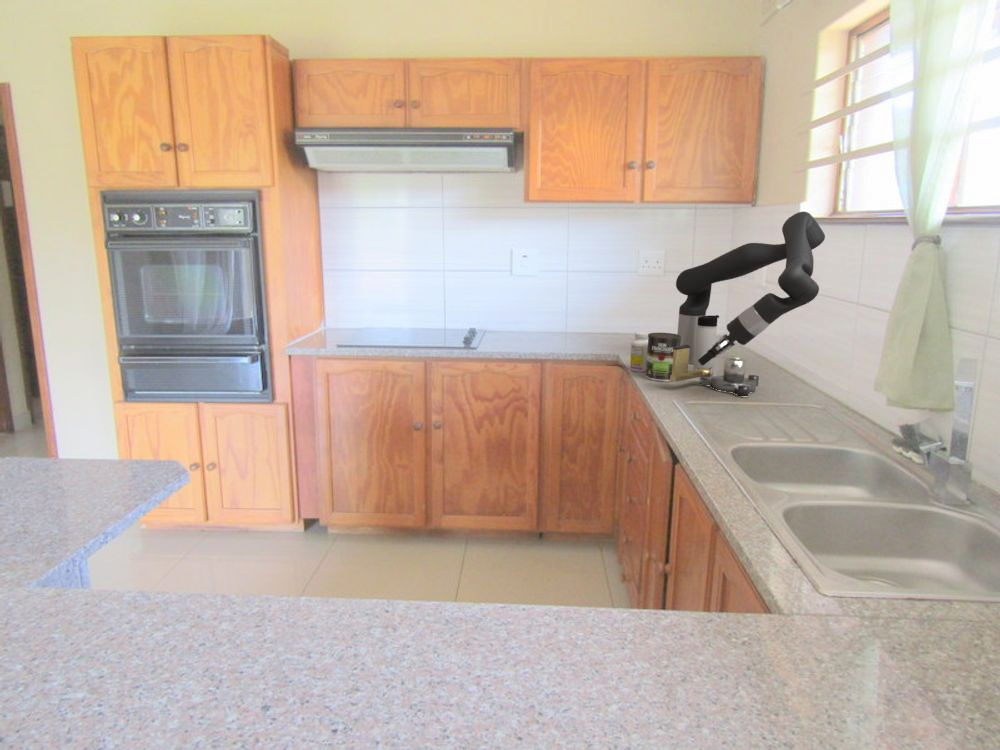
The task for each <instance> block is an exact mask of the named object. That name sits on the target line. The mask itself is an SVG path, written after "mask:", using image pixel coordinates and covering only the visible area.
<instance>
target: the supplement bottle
mask: <svg viewBox="0 0 1000 750" xmlns="http://www.w3.org/2000/svg"><path fill="white" fill-rule="evenodd" d="M648 334H650V333H649V332H645V331H636V332H635V333H634V337H635V339H632V341H631V347H630V362H629V363H630V364H629V366H630V367H629V369H630V371H632V372H635V373H646V364H647V350H648Z"/></svg>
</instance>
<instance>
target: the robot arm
mask: <svg viewBox="0 0 1000 750" xmlns="http://www.w3.org/2000/svg"><path fill="white" fill-rule="evenodd" d="M781 232H782V234H783V238H784V243H780V244H779V243H776V244H773V243H772V244H771V243H764V242H748V243H745V244H742V245H740V246H737V247H736V248H733V249H732V250H729V251H727V252H726V253H723V254H721V255H720V256H717V257H716V258H714V259H712V260H710V261H708V262H706V263H703V264H700V265H698V266H695V267H691V268H687V269H685V270H683V271H681V272H680V273H679V275H678V276H677V278H676V280H675V287H676V290H677V291H678V292H679V293H680V294H682V295H685V296H686V300H685V301H684V302H683V303H682V304H680V305H679V309H678V322H677V333H676V334H677V335H680V336H681V342H680V346H683V345H690V349H689V361H688V365H694V356H695V344H696V332H697V323H698V317H701V316H707V315H706V314H707V310H708V309H709V306H710V299H711V294H712V285H713V284H715V283H719V282H724V281H728V280H729V281H730V280H733V279H736V278H737V279H738V278H740V277H744V276H746V275H749V274H751V273H753V272H756V271H758V270H760V269H762V268H764V267H767V266H770V265H773V264H774V263H776V262H777V263H778V262H780V261H783V260H785V268H784V270H783V271H782V273H780V275H779V276H778V277H777V283H778V286H779V288H780V289H781V290H782V291H783V293H786V295H787V296H786V297H780V296H778V295H776V294H775V293H772V292H768V293H766V294H764V295H763V296H762V297H761V298H760V299H758V300H757V301H756V302H755V303H753V304H752V305H750V306H749V307H748V308H746V309H744V310H743V311H742V312H741V313H739V315H737V316H736V317H734V318H733V320H731V321H730V322H729V323H727V324H726V330H727V332H728V334H727V333H725V334H724V335H722V336H721V337H720V338H718V340H716V343H715V344H714V345H713V346H712V348H711V349H709V350H708V351H707V353H706V354H705V355H704V356H702V357H701V358H700V359H699V360H698V362H699V363H700V364H701V365H705V364H706V363H707V362H709V361H710V360H711V359H712V358H714V359H715V358H716V357H717V356H720V355H723V353H725V352H727V350H730V349H732V348H733V347H734V346H735V345H736V344H735V342H737V343H738V344H740V345H741V346H746V345H747V344H749V342H751V341H752V340H754V339H755V338H756V337H758V336H759V335H760V334H761V333H762V332H764V331H765V330H766V329H767V327H769V326H770V325H771V324H772V323H774V322H775V321H776V320H777V319H779V318H780V317H782V316H783V315H784V314H787V313H789V312H791V311H794V310H795V309H798V308H800V307H802V306H804V305H807V304H809V303H810V302H812V301H813V300H815V298H817V296H818V295H819V291H820V288H819V287H820V286H819V284H818V283H817V282H816V281H815V280H814V279H813V278H812V276H813V273H814V262H815V261H814V255H813V254H814V253H813V250H814V249H817V247H819V246H820V245H821V244H823V243H824V241H825V238H826V235H825V233H824V231H823V229H822V228H821V226H820V225H819V223H818V222H817V220H816V219H815V217H813V215H812V214H811V213H810V212H807V211H799V212H796V213H795V214H793V215H791V216H790V217H788V218H787V219H786V220H785V222H784V223H783V225H782V228H781Z"/></svg>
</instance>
